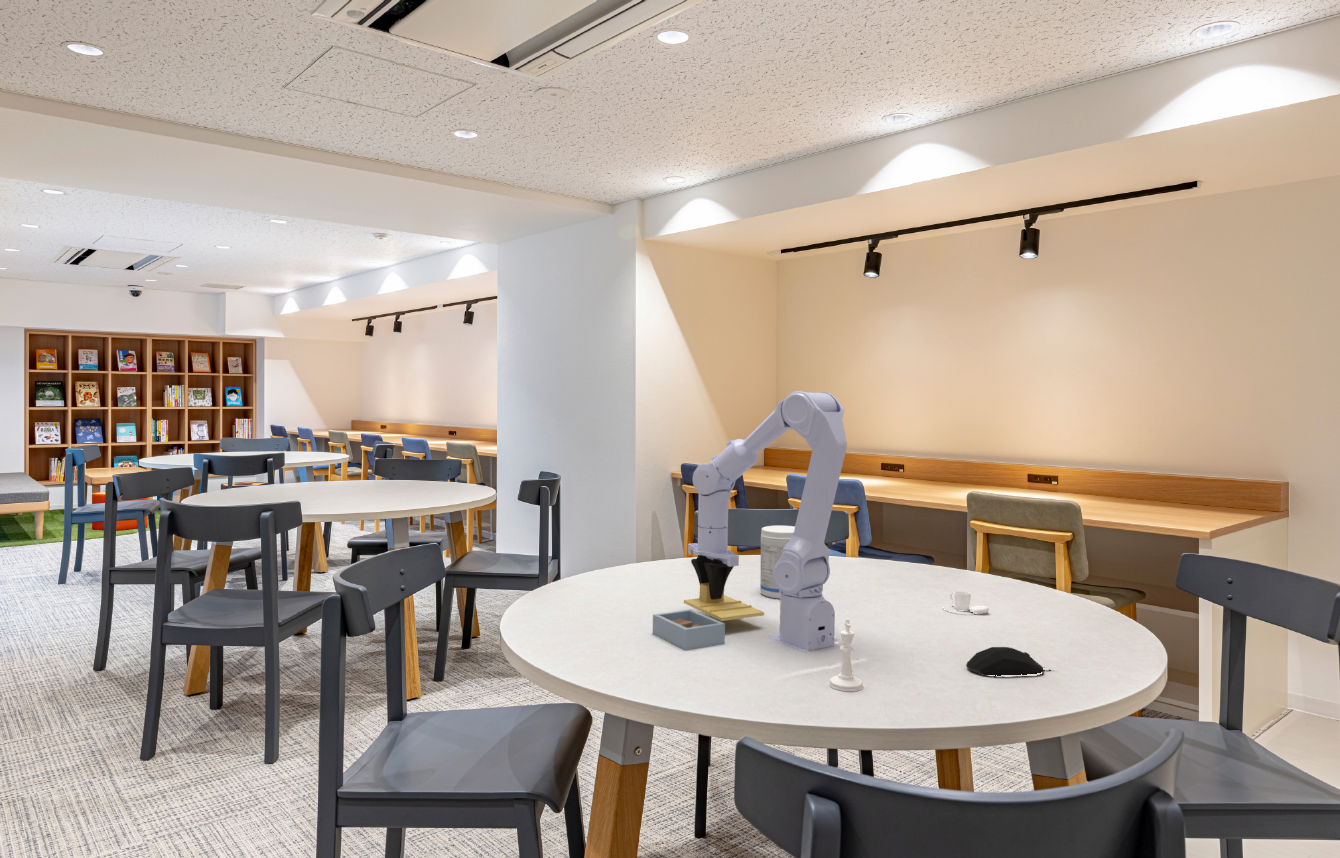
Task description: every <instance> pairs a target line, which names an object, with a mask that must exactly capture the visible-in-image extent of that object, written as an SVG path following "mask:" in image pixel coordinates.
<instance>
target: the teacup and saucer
mask: <svg viewBox="0 0 1340 858" xmlns="http://www.w3.org/2000/svg"><path fill="white" fill-rule="evenodd" d="M952 595H954V600H953V596H952ZM949 597H950V598H949V599H950V601H951V603H952V605H954V606H955V607H954V608H955V609H956V611H958V610H964V611H966V610H968V611H970V613H971V612H973V613H972V614H974V613H977V614H979V615H982V614H986V613H988V612H989V609H990V608H989V606H987V605H973V606H972V607H971V608H969V606H971V605H970V604H971V598H972V593H971V592H969V591H965V590H956V591H954V592H951V593H950V594H949ZM948 605H949V604H948ZM948 605H946V606H948ZM942 608H944V606H942ZM945 610H946V609H944V610H943V611H945ZM950 611H951V610H950ZM950 611H949V612H948V613H950Z"/></svg>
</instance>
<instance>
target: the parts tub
mask: <svg viewBox="0 0 1340 858" xmlns="http://www.w3.org/2000/svg"><path fill="white" fill-rule="evenodd" d="M677 619H683V620H687V621H691V622H692V625H696V624H702V625H704V626H697V627H691V628H686V627H684V626H682V625H679V624H677V623H675V622H673V620H677ZM652 635H655V636H656V637H658V638H660V639H662V640H663V641H664V640H665V641H666V642H668V643H670V644H672V645H674V646H676V647H678V648H680V649H682V650H684V651H688V650H690V651H691V650H694V649H695V650H696V649H701V648H707V647H712V646H718V645H719V646H720V645H724V644H726V642H725V641H726V639H725V638H726V623H724V622H723V621H720V620H718V619H716V618H714V617H711V616H709V615H708V616H707V614H706V615H705V614H703V613H700V612H699V611H696V610H693V609H683V610H676V611H670V612H660V613H656V614H655V613H654V614H652Z"/></svg>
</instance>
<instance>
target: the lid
mask: <svg viewBox="0 0 1340 858" xmlns="http://www.w3.org/2000/svg"><path fill="white" fill-rule="evenodd" d="M683 604H685V605H687V606H688V607H691V608H693V609H695V610H697V611H698V612H702V614H703V613H704V614H706V615H708V616H709V617H711V618H713V619H715V620H717V621H720V622H724V621H731V620H740V619H745V618H746V619H748V618H754V617H761V616H762V617H763V616H765V612H764V611H762V610H760V609H758V608H755V607H753V606H752V605H751V604H747V603H744V602H742V601H741V600H737V599H735V598H733V597H730V596H727V595H725V589H724V590H723V594H722V598H721V599H714V600H712V599H711V598H710V591H709V583H700V584H699V596H698V597H697V598H690V599H683Z"/></svg>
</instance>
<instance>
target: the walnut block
mask: <svg viewBox="0 0 1340 858" xmlns="http://www.w3.org/2000/svg"><path fill="white" fill-rule="evenodd" d="M673 622H675V623H677V624H679V625H682V626H684V627H686V628H691V627H692V622H691V621H687V620H683V619H677V620H673Z"/></svg>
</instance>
